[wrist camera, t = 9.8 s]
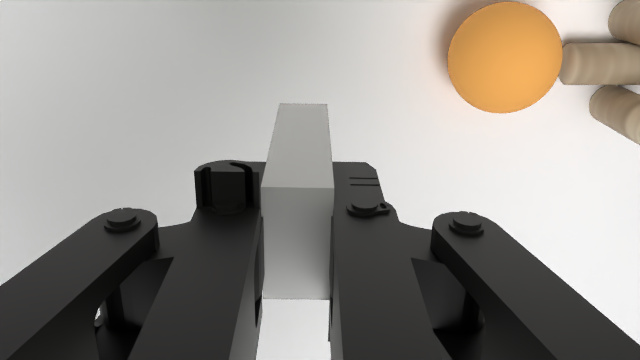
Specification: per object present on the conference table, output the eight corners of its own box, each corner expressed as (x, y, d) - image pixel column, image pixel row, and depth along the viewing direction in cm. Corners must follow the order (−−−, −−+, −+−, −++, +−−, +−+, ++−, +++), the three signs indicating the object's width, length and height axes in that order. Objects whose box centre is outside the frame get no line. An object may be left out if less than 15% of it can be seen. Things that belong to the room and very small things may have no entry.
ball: (558, 108, 32) (458, 96, 34) (577, 1, 30) (469, -2, 32) (543, 131, 27) (428, 115, 30) (565, 6, 25) (438, 1, 27)
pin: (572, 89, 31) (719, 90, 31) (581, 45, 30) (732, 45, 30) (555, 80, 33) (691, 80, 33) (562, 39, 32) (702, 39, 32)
